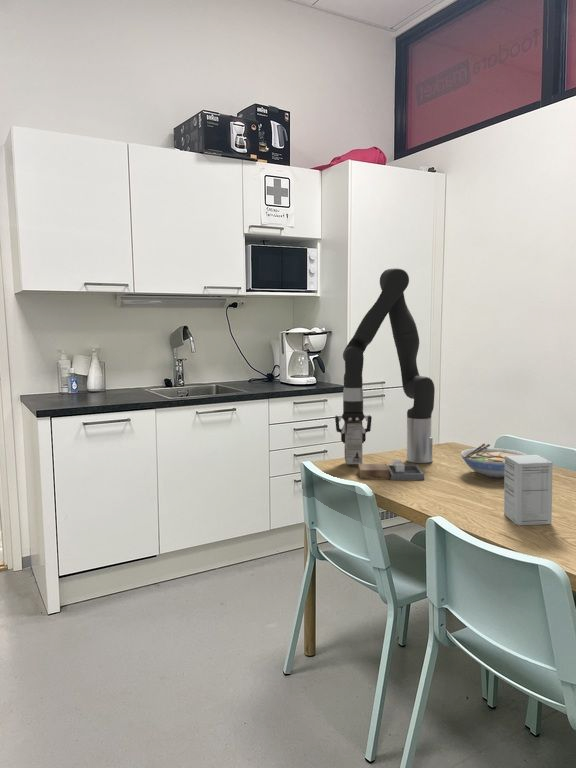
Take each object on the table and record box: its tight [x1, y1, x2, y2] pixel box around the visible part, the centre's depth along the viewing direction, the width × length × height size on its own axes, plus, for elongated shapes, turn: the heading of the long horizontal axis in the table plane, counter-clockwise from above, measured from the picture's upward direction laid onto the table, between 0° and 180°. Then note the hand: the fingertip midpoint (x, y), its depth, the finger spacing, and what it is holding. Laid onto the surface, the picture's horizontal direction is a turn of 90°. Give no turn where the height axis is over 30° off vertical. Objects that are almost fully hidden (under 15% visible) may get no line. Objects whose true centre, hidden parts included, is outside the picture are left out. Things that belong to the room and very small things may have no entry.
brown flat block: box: [357, 463, 390, 479], centre depth 203 cm, size 10×9×3 cm
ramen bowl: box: [460, 443, 528, 479], centre depth 200 cm, size 25×23×8 cm
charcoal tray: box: [386, 464, 425, 481], centre depth 202 cm, size 11×13×2 cm
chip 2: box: [394, 462, 405, 474], centre depth 200 cm, size 4×4×3 cm
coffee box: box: [343, 420, 363, 465], centre depth 217 cm, size 9×6×16 cm
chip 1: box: [391, 459, 403, 473], centre depth 204 cm, size 4×4×3 cm
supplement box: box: [503, 454, 554, 526], centre depth 154 cm, size 10×9×17 cm
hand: (353, 442), depth 217 cm, fingers closed on coffee box, 6 cm apart
